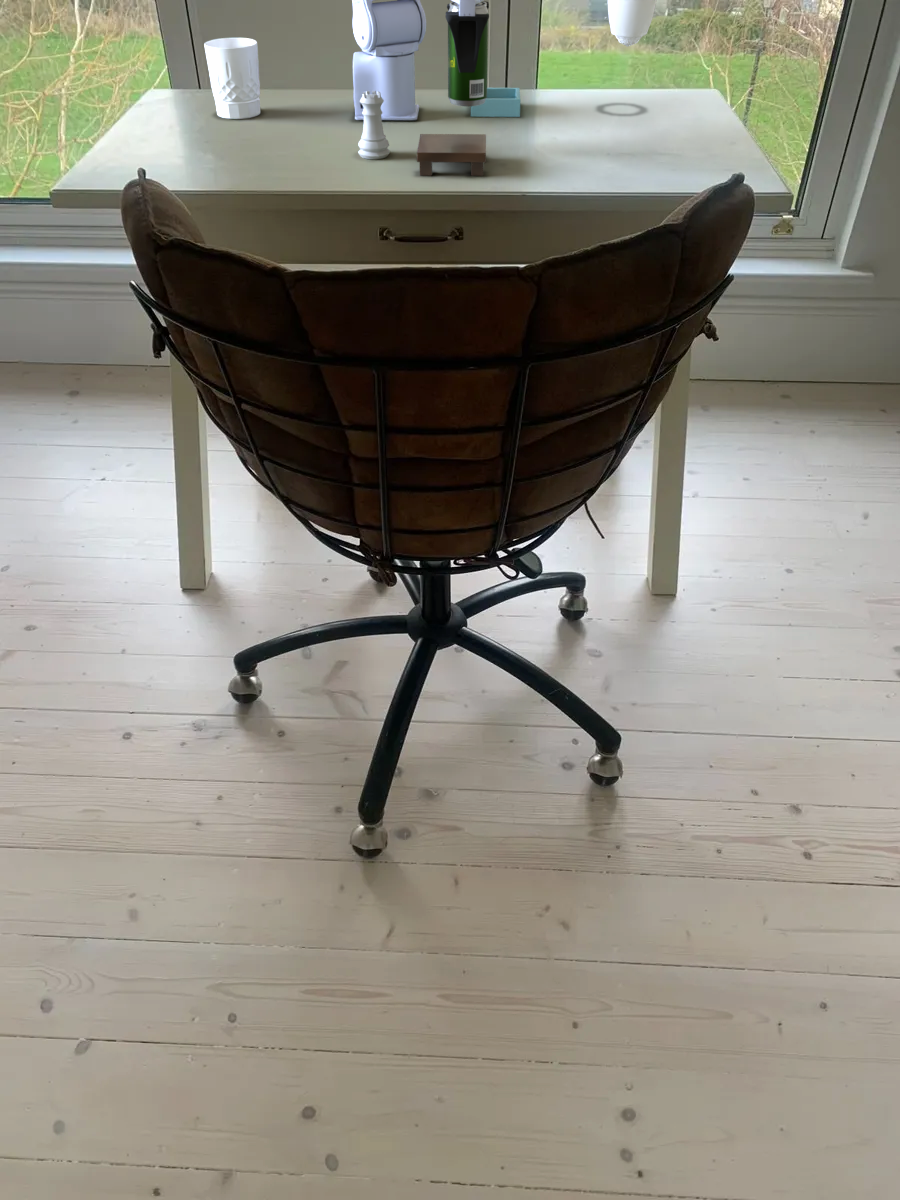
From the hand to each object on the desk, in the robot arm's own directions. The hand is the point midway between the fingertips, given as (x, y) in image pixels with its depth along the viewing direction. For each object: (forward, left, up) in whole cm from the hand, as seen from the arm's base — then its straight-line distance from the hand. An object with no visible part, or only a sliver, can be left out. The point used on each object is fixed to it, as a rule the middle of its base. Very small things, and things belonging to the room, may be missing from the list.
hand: (467, 67), depth 143 cm
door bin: (+4, +21, -10) cm, 24 cm away
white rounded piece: (+24, +22, -11) cm, 35 cm away
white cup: (-36, +18, -11) cm, 42 cm away
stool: (-2, -9, -10) cm, 14 cm away
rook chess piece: (-13, -4, -11) cm, 17 cm away
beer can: (0, 0, -5) cm, 5 cm away
